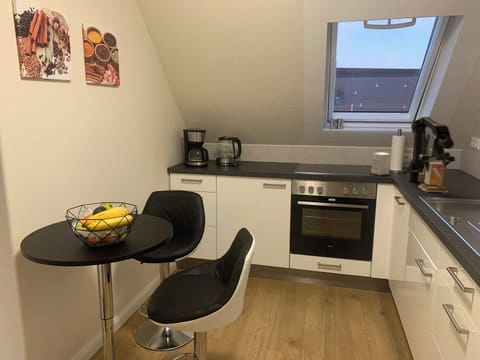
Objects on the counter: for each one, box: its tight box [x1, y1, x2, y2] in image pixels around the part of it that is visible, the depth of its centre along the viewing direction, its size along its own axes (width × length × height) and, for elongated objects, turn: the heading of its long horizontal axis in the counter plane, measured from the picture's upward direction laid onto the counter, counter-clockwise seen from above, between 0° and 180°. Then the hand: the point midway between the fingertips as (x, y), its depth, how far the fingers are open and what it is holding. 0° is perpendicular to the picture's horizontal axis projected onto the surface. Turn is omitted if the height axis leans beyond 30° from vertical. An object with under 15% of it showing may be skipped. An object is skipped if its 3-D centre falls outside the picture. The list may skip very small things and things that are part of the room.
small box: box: [424, 161, 446, 186], centre depth 225 cm, size 8×6×13 cm
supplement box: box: [370, 151, 392, 176], centre depth 272 cm, size 9×9×15 cm
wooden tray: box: [418, 182, 448, 193], centre depth 227 cm, size 14×12×2 cm
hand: (434, 172), depth 225 cm, fingers closed on small box, 8 cm apart
